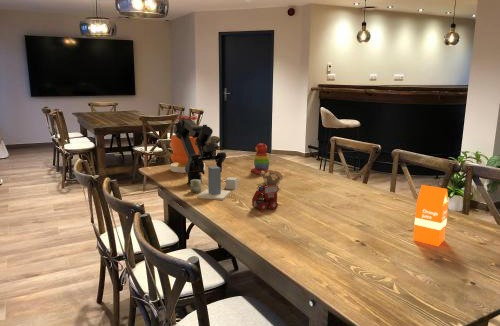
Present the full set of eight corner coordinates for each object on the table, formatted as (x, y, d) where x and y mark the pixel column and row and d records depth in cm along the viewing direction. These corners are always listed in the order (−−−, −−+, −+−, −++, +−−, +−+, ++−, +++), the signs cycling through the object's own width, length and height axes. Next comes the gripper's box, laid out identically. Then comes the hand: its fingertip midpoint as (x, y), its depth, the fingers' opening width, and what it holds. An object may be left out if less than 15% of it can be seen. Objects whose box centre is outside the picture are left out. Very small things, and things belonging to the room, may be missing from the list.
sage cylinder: (189, 193, 208) (189, 181, 207) (192, 190, 213) (192, 179, 211) (198, 193, 207) (198, 182, 205) (202, 191, 211) (202, 179, 210)
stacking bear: (249, 171, 257) (250, 142, 253) (264, 169, 261) (264, 141, 257) (257, 174, 247) (257, 145, 243) (272, 173, 251) (273, 144, 247)
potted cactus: (168, 167, 264) (167, 112, 257) (203, 165, 271) (202, 111, 264) (173, 175, 244) (171, 115, 237) (210, 172, 251) (209, 114, 244)
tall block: (208, 192, 205) (208, 167, 202) (216, 191, 207) (216, 166, 204) (212, 195, 201) (212, 168, 198) (220, 193, 203) (220, 167, 201)
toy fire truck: (248, 207, 186) (249, 185, 184) (273, 204, 191) (274, 182, 189) (255, 212, 180) (256, 189, 177) (280, 208, 185) (281, 186, 183)
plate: (197, 197, 200) (197, 195, 199) (206, 190, 212) (206, 188, 212) (223, 200, 196) (223, 198, 196) (231, 192, 209) (231, 190, 209)
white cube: (225, 188, 217) (225, 179, 216) (228, 186, 221) (228, 177, 220) (234, 189, 216) (235, 180, 214) (237, 187, 220) (237, 177, 219)
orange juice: (419, 234, 157) (424, 182, 152) (444, 240, 151) (450, 186, 147) (412, 240, 151) (417, 186, 147) (438, 246, 145) (444, 191, 141)
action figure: (274, 175, 233) (287, 180, 219) (261, 189, 230) (273, 195, 217) (263, 162, 229) (276, 167, 215) (250, 177, 227) (262, 182, 213)
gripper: (190, 138, 200) (199, 165, 193) (224, 136, 209) (235, 162, 202) (184, 152, 208) (193, 178, 201) (218, 149, 218) (227, 174, 211)
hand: (212, 172), depth 204 cm, fingers open, 9 cm apart
